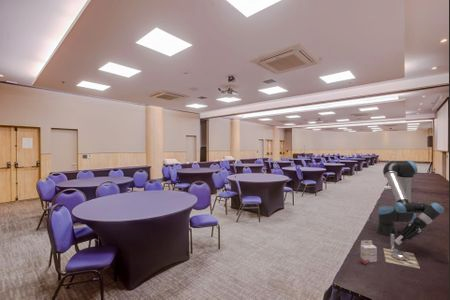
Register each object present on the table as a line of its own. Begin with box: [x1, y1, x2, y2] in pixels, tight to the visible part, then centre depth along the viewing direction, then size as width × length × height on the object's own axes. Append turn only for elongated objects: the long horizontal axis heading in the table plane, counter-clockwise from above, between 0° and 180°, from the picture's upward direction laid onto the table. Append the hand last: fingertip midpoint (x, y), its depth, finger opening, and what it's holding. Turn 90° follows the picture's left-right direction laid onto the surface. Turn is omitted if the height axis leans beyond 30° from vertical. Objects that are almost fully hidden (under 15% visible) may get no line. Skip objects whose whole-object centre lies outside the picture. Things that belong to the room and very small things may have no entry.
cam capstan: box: [390, 234, 411, 260], centre depth 161 cm, size 17×10×13 cm, turn 1°
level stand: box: [383, 247, 421, 269], centre depth 161 cm, size 22×18×2 cm
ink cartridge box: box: [360, 239, 378, 265], centre depth 159 cm, size 9×5×15 cm, turn 92°
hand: (396, 242), depth 167 cm, fingers closed
